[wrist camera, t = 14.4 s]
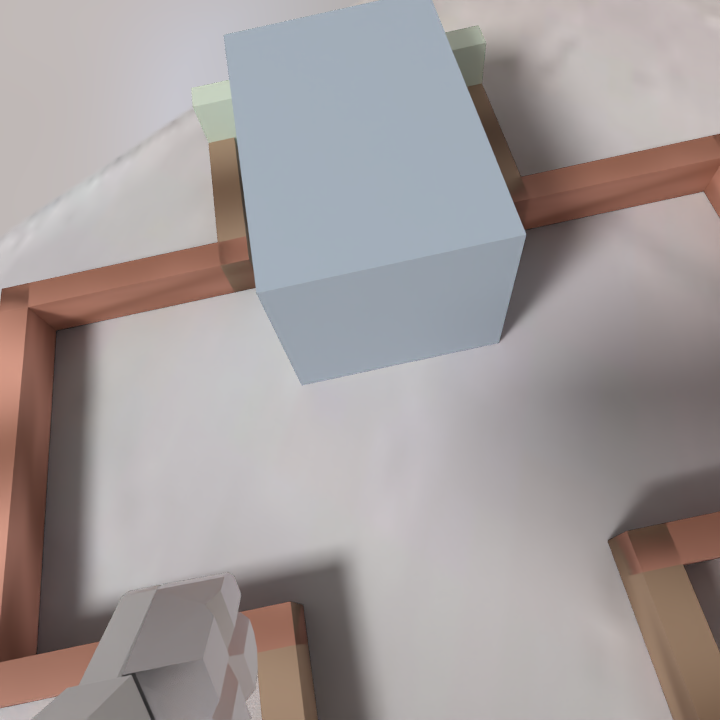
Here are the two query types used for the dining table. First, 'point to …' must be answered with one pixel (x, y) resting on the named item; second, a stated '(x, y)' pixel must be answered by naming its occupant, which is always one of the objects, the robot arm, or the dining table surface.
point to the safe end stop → (217, 101)
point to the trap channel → (235, 273)
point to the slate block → (369, 190)
